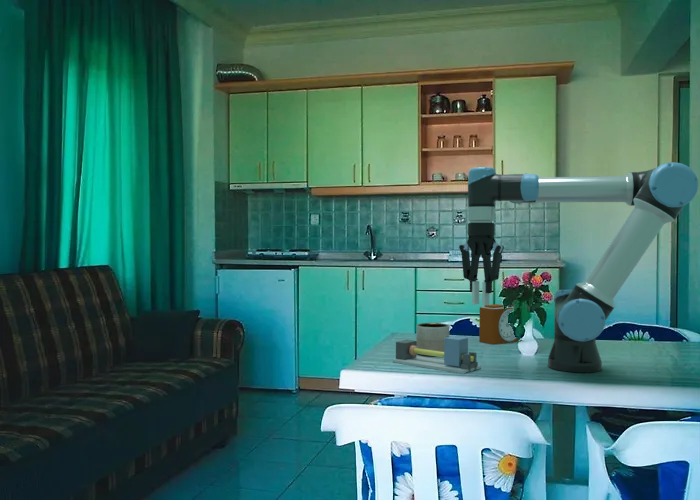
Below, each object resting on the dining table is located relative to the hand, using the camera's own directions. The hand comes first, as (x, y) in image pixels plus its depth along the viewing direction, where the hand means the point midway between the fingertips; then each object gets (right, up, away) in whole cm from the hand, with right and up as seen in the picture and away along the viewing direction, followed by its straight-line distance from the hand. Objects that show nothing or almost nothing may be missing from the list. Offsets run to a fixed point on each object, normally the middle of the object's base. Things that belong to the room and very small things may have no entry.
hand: (480, 304), depth 188 cm
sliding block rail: (-11, -19, +10) cm, 25 cm away
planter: (-10, -19, +29) cm, 36 cm away
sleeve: (-6, -18, +6) cm, 20 cm away
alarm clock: (+18, -18, +54) cm, 59 cm away
